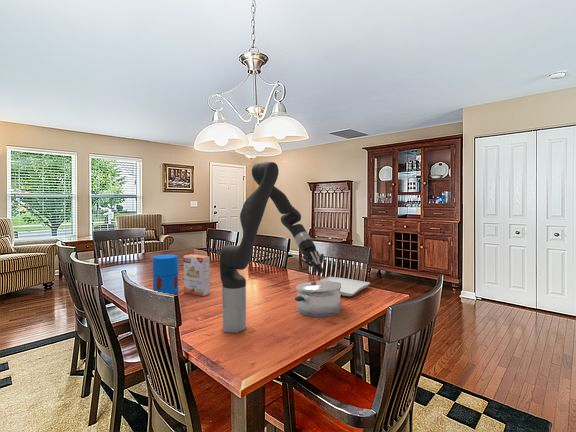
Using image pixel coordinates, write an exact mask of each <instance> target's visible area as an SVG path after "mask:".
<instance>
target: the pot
mask: <svg viewBox="0 0 576 432" xmlns="http://www.w3.org/2000/svg"><path fill="white" fill-rule="evenodd" d="M296 291H297V292H296V295H297V296H295V297H294V300H295V301H296V302H297V303H296V304H297V305H296V308H297V312H298V313H299V314H302V315H304V316H306V317H313V318H329V317H334V316H336V315H338V314H339V313H340V312H341V295H340V289H337V290H334V291H328V292H302V291H298V290H297V289H296Z"/></svg>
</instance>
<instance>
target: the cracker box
mask: <svg viewBox="0 0 576 432" xmlns="http://www.w3.org/2000/svg"><path fill="white" fill-rule="evenodd" d="M210 257H211V256H207V255H200V254H193V253H190V254H185V255H183V293H185V294H188V295H189V294H190V295H194V296H199V297H205V296H208V295H210V294H211V264H210V263H211V258H210Z"/></svg>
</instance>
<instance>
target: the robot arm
mask: <svg viewBox="0 0 576 432" xmlns="http://www.w3.org/2000/svg"><path fill="white" fill-rule="evenodd" d="M251 175H252V178H253V180H254V182H255V183H256V184H257V185H258V187H257V188H256V189H255V190H254V191H253V192H252V193H251V194H250V195H249V196H248V197H247V198H246V200H245V201H244V202H243V205H242V207H241V208H242V209H241V211H240V214H239V220H240V226H241V229H242V238H241V241H240V244H239V245H233V244H226V245H224V246H223V247H222V248H221V250H220V252H219V275H220V281H221V283H222V285H221V286H222V289H221V290H222V293H221V294H222V330H223V331H222V332H223V333H235V334H238V333H240V332H242V331H243V332H244V331H245V330H246V329H247V280H246V278H245V276H243V275H242V274H240V273H239V270H241V271H243V270H245V269H246V268H247V267H248V266H249V263H250V260H251V259H252V253H253V249H254V244H255V241H256V237H257V234H258V231H259V227H260V225H261V222H262V220H263V217H264V213H265V210H266V207H267V204H268V201H269V199H270V200H271V201H272V202H273V204H274V205H275V207H276V209H277V211H278V212H279V214H281V216H280V222H281V224H282V225H283V226H284V227H285V229H286V228H287V230H288V231H289V232H290V233H291V235H292V237H293V239H294V241H295V243H296V245H297V247H298V248H299V249H298V250H300V253H301V254H302V255H303V256H302V258H301V259H300V260H301V261H302V262H303V263H305V264H306V265H308V266H309V267H313V268H314V269H315V271H316V272H317V273H318V274H323V272H324V268H323V267H322V264H323V263H324V257H325V255H324V253H320V252H319V251H318V250H317V249H316V245H315V242H314V241H313V240H312V237H311V236H310V235H309V233H308V231H307V230H306V229H305V227H304V225H303V224H302V223H299V222H301V219H302V215H301V213H300V211H299V210H297V209H296V208H295V207H294V206H293V205H292V204H291V202H290V200H289V199H288V196H287V195H286V194H285V193H284V192H282V191H281V190H280V189H279V188H278V187H276V186H275V185H276V183H277V180H278V176H279V166H278V164H277V163H276V162H274V161H265V162H258V163H255V164H254V165H252V168H251ZM237 270H238V271H237Z"/></svg>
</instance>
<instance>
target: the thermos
mask: <svg viewBox="0 0 576 432" xmlns="http://www.w3.org/2000/svg"><path fill="white" fill-rule="evenodd" d="M152 284H153V286H152V289H153V290H154V291H158V292H163V293H169V294H174V295H178V296H179V258H178V255H176V254H159V255H155V256H153V257H152ZM153 290H152V291H153ZM179 297H180V296H179Z"/></svg>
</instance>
